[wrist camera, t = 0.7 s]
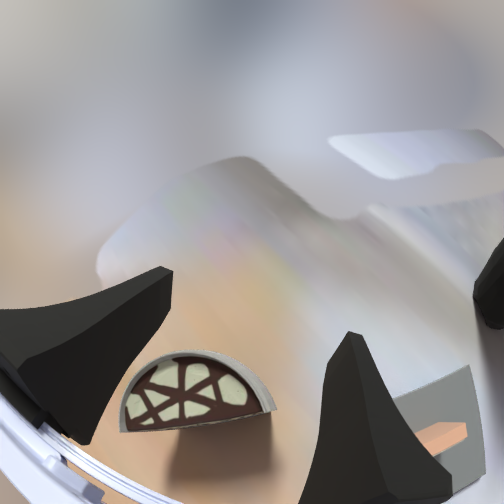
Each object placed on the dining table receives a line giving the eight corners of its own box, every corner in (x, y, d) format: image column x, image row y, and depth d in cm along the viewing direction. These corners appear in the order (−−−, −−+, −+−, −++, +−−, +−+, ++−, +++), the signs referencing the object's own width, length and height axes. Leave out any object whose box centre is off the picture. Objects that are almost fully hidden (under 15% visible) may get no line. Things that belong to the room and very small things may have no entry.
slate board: (480, 472, 13) (485, 473, 12) (344, 531, 15) (346, 535, 14) (464, 366, 21) (469, 364, 20) (326, 418, 22) (326, 419, 21)
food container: (269, 351, 27) (250, 324, 19) (285, 407, 24) (273, 410, 15) (161, 377, 27) (105, 359, 19) (171, 429, 24) (114, 432, 16)
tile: (441, 435, 17) (467, 438, 13) (390, 457, 18) (409, 468, 13) (438, 422, 18) (465, 422, 13) (388, 443, 19) (406, 451, 14)
